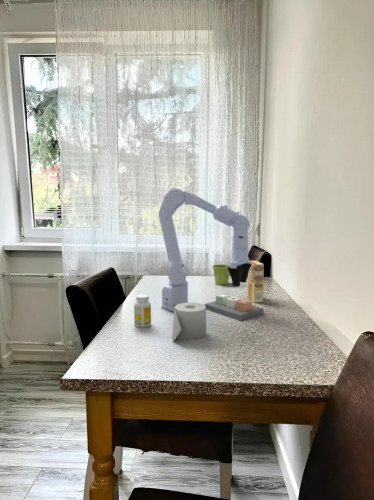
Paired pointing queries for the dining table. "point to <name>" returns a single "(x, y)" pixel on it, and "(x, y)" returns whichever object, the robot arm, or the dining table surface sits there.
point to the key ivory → (232, 302)
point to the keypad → (234, 311)
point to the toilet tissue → (189, 321)
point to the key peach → (244, 305)
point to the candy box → (256, 281)
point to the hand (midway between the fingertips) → (239, 284)
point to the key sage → (221, 299)
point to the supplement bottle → (142, 311)
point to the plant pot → (221, 274)
